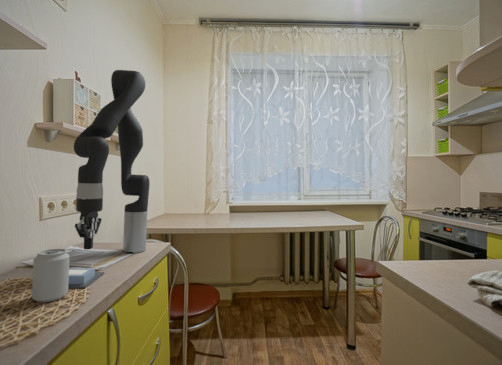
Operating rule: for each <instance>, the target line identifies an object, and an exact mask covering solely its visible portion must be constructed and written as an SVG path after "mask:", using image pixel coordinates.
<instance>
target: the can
mask: <svg viewBox="0 0 502 365" xmlns="http://www.w3.org/2000/svg"><path fill="white" fill-rule="evenodd" d="M67 252H68V249H66V248H49V249H43V250H39V251H37V253H36V256H35V257H34V258H33V261H32V262H33V263H32V285H31V298H32V300H34V301H36V302H37V303H50V302H55V301H58V300H61V299H63V298H64V297H65V296H66V295H67V294H68V293H69V288H68V282H69V269H70V256H71V255H70V254H69V253H67Z"/></svg>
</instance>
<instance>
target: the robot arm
mask: <svg viewBox="0 0 502 365" xmlns="http://www.w3.org/2000/svg"><path fill="white" fill-rule="evenodd" d="M110 81H111V82H110V83H111V91H112V96H113V100H112V101H110V102H109V103H107V104H106V105H104V106H103V107H102V108H101V109H100V110H99V111H98V113H97V115H96V116H95V118H94V119H93V121H92V123H91V124H90V125H89V126H87V127H86V128H85V129H84V130H83V131H82V132H81V133H80V134H78V136H77V137H76V139H75V140H74V143H73V151H74V153H75V155H76V156H78V157H80V158H82V159H83V158H84V159H85V158H86V159H87V162H86V163H85V164H83V165H80V166H79V167H78V171H77V187H76V199H75V201H76V202H75V203H76V204H75V210H76V212H78V213H80V216H79V222H78V223H75V224H74V228H75V230H76V232H77V235H78V236H79V238H82V239H83V249H84V250H91V249H93V248H94V237H95V235H97V234H98V231H99V229H100V225H101V223H102V218H101V217H100V218H99V212H102V211H103V205H104V204H103V201H104V200H103V199H104V187H103V177H104V176H103V175H104V174H103V172H104V170H105V167H106V163H107V160H108V157H109V153H110V147H109V143H108V141H107V139H108V138H110V137H112V136H113V134H114V133H115V131H116V129H117V134H118V135H117V138H118V146H119V153H120V180H121V181H120V184H121V185H120V186H121V191H122V194H123V195H125V196H131V197H132V196H133V197H134V196H135V197H138V199H137V200H135V201H133V202H130V203H127V204H125V205H124V216H123V218H124V219H123V237H122V238H123V242H122V252H123V251H125V252H124V253H126V252H133V253H132V254H136V253H143V252H145V251H146V250H147V230H148V229H147V228H148V206H149V194H150V184H151V183H150V178H149V176H148V175H146V174H132V167H133V164H134V162H135V160H136V158H137V157H138V156H139V154H140V152H141V151H142V149H143V147H144V135H143V133H144V132H143V128H142V125H141V123H140V122H139V120H138V119H137V117H136V116H135V115H134V113H133V111H132V109H131V108H132V107H133V105H134V104H135V103H136V102H137V101H138V100H139V98H141V96H142V95H143V94H144V91H145V90H146V80H145V76H144V75H143V74H142V72H140V71H137V70H129V69H128V70H127V69H126V70H125V69H116V70H115V69H114V71H113V72H112V74H111V78H110Z"/></svg>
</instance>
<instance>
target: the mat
mask: <svg viewBox="0 0 502 365" xmlns="http://www.w3.org/2000/svg"><path fill="white" fill-rule="evenodd" d="M104 274H105V272H104V271H95V277H93V278H92V279H91V280H89V281H88V282H86V283H85V284H68V289H87V288H88V287H89V286H90V285H92V284H93V283H95V281H97V280H98V279H99V278H101V277H102V276H103V275H104Z"/></svg>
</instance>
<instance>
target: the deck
mask: <svg viewBox="0 0 502 365" xmlns="http://www.w3.org/2000/svg"><path fill="white" fill-rule="evenodd" d="M95 272H96V268H69V282H68V284H85V283H86V282H88V281H89V280H91V279H92V278H93V277H95Z"/></svg>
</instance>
